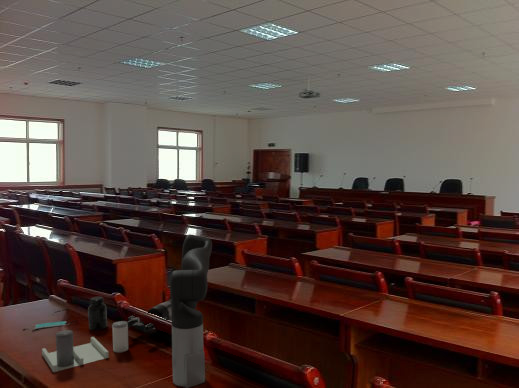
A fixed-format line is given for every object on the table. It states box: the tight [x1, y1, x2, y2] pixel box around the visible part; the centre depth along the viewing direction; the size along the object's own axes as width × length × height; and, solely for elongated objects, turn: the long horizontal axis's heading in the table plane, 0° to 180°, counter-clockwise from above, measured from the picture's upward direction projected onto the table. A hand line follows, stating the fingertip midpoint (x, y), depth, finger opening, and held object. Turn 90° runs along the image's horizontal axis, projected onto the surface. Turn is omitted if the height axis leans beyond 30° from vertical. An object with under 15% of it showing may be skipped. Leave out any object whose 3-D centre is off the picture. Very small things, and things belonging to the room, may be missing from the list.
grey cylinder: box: [55, 329, 74, 367], centre depth 144 cm, size 5×5×10 cm
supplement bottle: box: [87, 296, 108, 332], centre depth 178 cm, size 7×7×12 cm
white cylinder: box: [111, 320, 129, 353], centre depth 155 cm, size 5×5×10 cm
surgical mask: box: [22, 308, 79, 332], centre depth 181 cm, size 21×4×10 cm
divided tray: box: [41, 336, 110, 373], centre depth 150 cm, size 16×17×3 cm
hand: (135, 327), depth 162 cm, fingers open, 8 cm apart
